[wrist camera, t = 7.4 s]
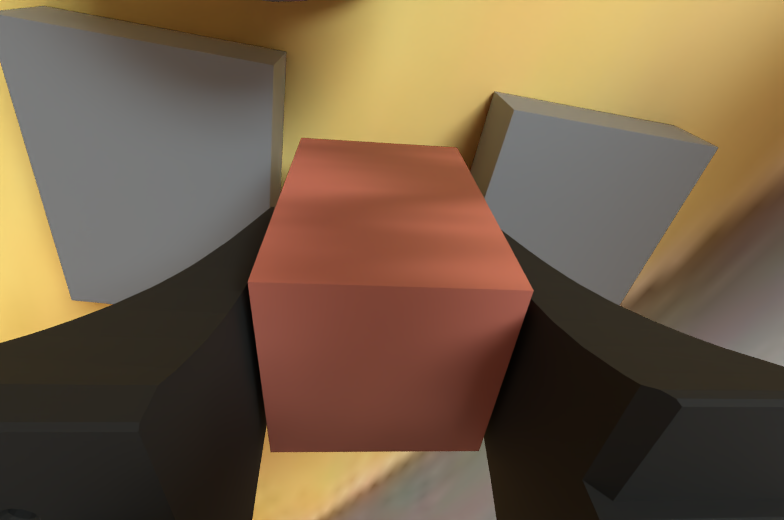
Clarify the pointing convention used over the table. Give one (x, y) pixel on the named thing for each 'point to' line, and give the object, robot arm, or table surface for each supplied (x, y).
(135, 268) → the notched board
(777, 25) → the table surface
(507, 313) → the block
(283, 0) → the bobbin
